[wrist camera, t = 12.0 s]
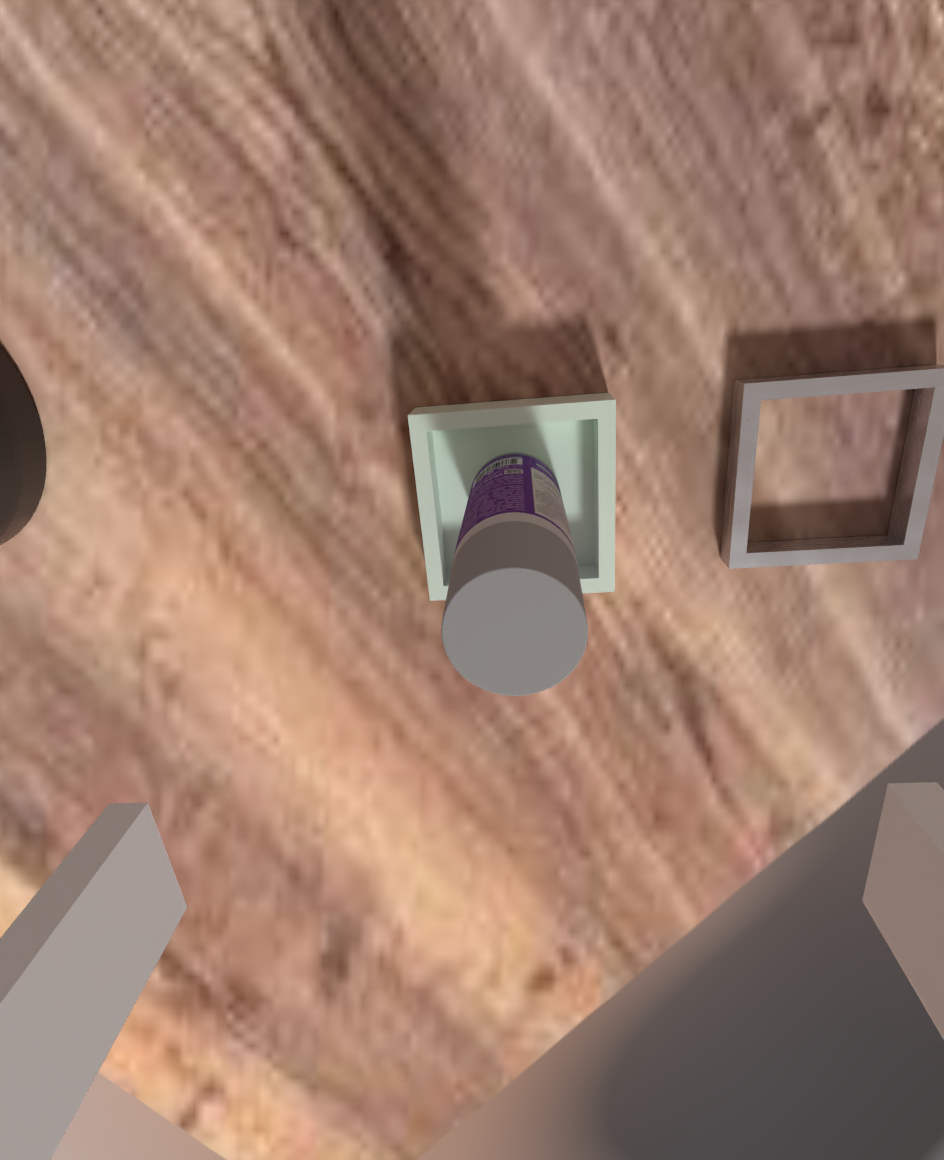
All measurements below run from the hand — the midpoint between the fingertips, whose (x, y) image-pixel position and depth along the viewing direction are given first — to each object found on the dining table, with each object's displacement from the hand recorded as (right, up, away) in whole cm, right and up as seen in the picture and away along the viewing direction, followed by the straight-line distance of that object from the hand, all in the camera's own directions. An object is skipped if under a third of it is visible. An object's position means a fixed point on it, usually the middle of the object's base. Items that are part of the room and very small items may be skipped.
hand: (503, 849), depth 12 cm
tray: (+2, +9, +22) cm, 24 cm away
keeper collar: (+17, +11, +20) cm, 28 cm away
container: (+2, +9, +21) cm, 23 cm away
